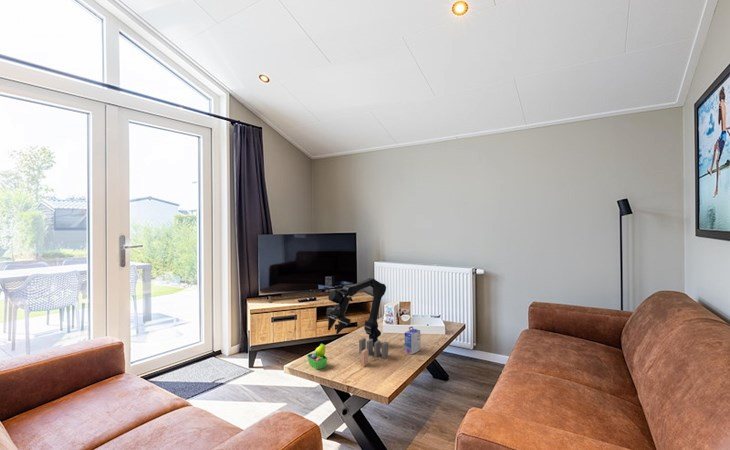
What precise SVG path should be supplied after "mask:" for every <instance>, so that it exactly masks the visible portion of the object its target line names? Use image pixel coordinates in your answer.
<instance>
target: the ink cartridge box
mask: <svg viewBox="0 0 730 450" xmlns="http://www.w3.org/2000/svg"><path fill="white" fill-rule="evenodd" d="M421 342H422V341H421V330H420V329H417V328H414V327H413V326H408V331H405V332H404V350H405V351H404V352H405V353H406V354H409V355H413V354H416V353H417V352H419V351H421V348H422V347H421V346H422V345H421Z"/></svg>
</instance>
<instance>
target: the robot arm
mask: <svg viewBox="0 0 730 450" xmlns="http://www.w3.org/2000/svg"><path fill="white" fill-rule="evenodd" d="M369 287H371V288H372V293H373V299H372V304H371V309H370V313H369V318H368V319H367V320H364V324H363V328H364V331H365V333H366V335H368V340H370V339H373V347H374V343H375V342H376V341H378V340H379V337H381V336H382V332H381V331H380V329H379V323H378V316H379V311H380V307H381V302H382V298H383V297H384V295H385V293H386V292H387V291H386V290H387V286H386V284H384V283H381V282H380V281H378V280H377V279H375V278H372V277H369V278H366V279H364V280H362V281H360V282H357V283H355V284H346V285H344V286H342V288H341V289H339V290H336V289H333V290H332V291H331V292H330V293H329V294H328V296H327V297H328V301H330V302H332V303H335V304H337V305H335V307H327V308H326V314H325V316H326V318H327V321H328V324H327V330H328V331H330V330H331V329H333V328H332V327H333V326H334V325H335V323H336V322H337V328H336V332H335V334H337V335H339V333H341V332H342V330H343V329H344V328H345V327H347V326H348V325H351V320H352V319H350V318H348V317H346V316H345V314H346V312H348V306H349V303H350V302H353V301H354V300H353V298H352V297H353V296H355V295H356V294H357V293H358V292H359V291H361V290H364V289H365V288H366V289H367V288H369Z"/></svg>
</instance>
